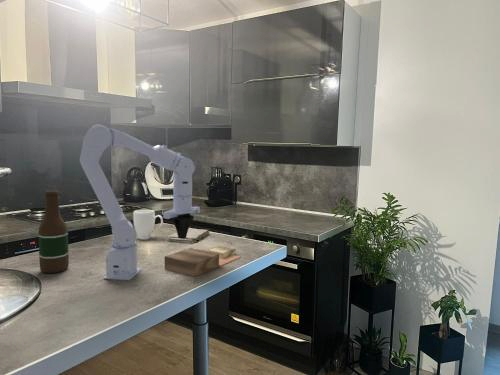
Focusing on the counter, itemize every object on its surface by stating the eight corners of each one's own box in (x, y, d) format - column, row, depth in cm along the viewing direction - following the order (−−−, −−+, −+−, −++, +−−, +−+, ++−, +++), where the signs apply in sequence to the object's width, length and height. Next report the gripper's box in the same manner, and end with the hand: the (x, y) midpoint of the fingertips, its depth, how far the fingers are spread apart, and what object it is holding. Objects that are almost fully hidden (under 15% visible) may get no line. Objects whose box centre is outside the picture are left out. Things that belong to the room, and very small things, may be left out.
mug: (130, 240, 146) (129, 212, 145) (139, 235, 154) (138, 208, 153) (158, 242, 144) (158, 213, 143) (166, 237, 153) (166, 210, 151)
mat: (220, 266, 117) (220, 265, 117) (189, 259, 124) (189, 257, 123) (241, 257, 127) (241, 256, 127) (211, 251, 134) (211, 250, 134)
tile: (235, 248, 130) (235, 253, 130) (222, 245, 133) (222, 250, 133) (222, 253, 123) (222, 259, 123) (208, 250, 126) (208, 255, 126)
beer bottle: (74, 266, 113) (72, 190, 111) (55, 274, 106) (52, 192, 103) (54, 263, 115) (51, 188, 113) (33, 271, 108) (30, 191, 105)
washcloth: (165, 243, 145) (165, 235, 145) (184, 233, 163) (184, 226, 162) (193, 245, 142) (193, 237, 142) (209, 235, 160) (209, 228, 159)
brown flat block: (194, 277, 107) (194, 263, 106) (164, 268, 113) (164, 256, 113) (218, 266, 117) (219, 254, 116) (190, 259, 123) (190, 247, 123)
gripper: (175, 198, 105) (175, 244, 106) (207, 194, 117) (206, 235, 119) (158, 196, 109) (158, 241, 110) (191, 192, 121) (190, 232, 122)
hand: (182, 238), depth 115 cm, fingers closed
